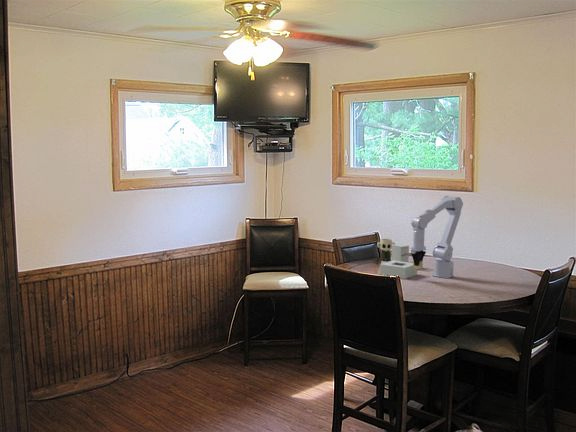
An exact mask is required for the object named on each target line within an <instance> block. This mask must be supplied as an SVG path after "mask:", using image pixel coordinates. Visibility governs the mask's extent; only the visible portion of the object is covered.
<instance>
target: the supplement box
mask: <svg viewBox="0 0 576 432" xmlns="http://www.w3.org/2000/svg"><path fill="white" fill-rule="evenodd" d="M409 253H410V245H409V244H408V245H407V244H403V243H402V244H399V243H398V244H395V245H393V244H392V249H391V260H390V261H392V260H394V261H401V262H409V257H410V256H409V255H410V254H409Z"/></svg>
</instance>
